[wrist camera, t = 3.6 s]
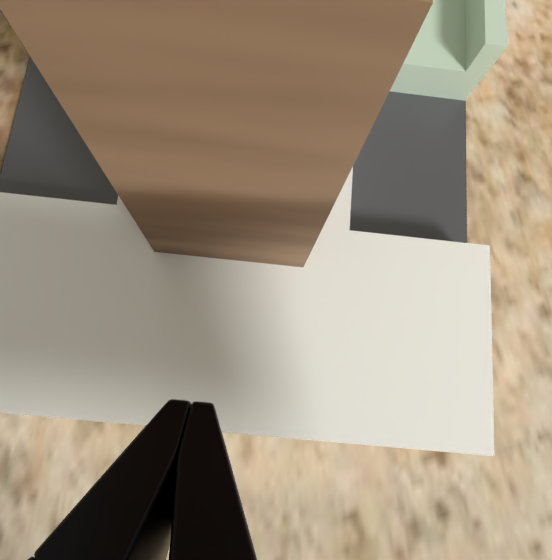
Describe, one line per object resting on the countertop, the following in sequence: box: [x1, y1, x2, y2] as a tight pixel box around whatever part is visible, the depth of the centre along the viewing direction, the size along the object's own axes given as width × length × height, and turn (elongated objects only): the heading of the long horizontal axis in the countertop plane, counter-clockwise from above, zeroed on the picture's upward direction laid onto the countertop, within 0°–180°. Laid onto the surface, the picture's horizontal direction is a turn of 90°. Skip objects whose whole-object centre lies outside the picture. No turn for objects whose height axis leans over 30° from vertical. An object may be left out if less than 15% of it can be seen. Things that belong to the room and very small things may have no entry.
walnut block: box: [0, 0, 433, 267], centre depth 11 cm, size 5×5×11 cm
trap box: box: [0, 0, 507, 456], centre depth 16 cm, size 22×18×5 cm
